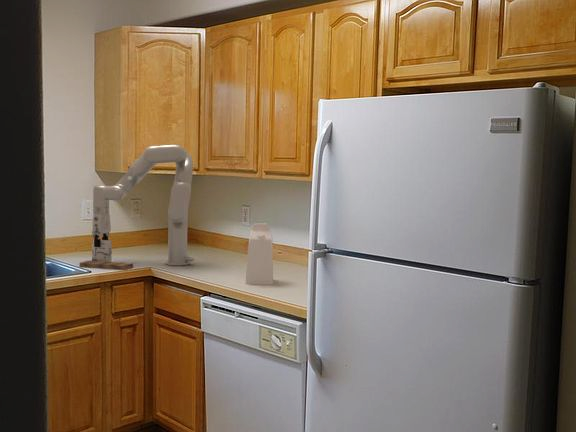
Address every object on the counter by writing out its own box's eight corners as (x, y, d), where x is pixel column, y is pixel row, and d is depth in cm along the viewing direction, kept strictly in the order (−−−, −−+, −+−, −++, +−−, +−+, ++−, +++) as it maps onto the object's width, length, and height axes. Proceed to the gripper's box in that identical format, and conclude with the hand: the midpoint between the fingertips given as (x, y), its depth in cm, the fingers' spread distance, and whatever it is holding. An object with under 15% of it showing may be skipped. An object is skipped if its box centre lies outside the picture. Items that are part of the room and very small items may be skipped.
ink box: (91, 263, 301) (91, 240, 300) (97, 262, 305) (97, 239, 304) (106, 265, 298) (106, 241, 297) (112, 263, 303) (112, 240, 302)
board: (133, 267, 294) (133, 263, 294) (125, 270, 286) (125, 265, 286) (88, 264, 299) (88, 260, 299) (79, 266, 291) (79, 262, 291)
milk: (272, 279, 274) (274, 222, 271) (273, 284, 262) (274, 225, 260) (246, 278, 273) (247, 221, 271) (245, 284, 262) (246, 224, 260)
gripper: (99, 211, 290) (99, 248, 291) (116, 209, 307) (116, 244, 308) (84, 211, 291) (85, 247, 293) (103, 208, 308) (103, 243, 310)
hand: (101, 245), depth 301 cm, fingers open, 6 cm apart
